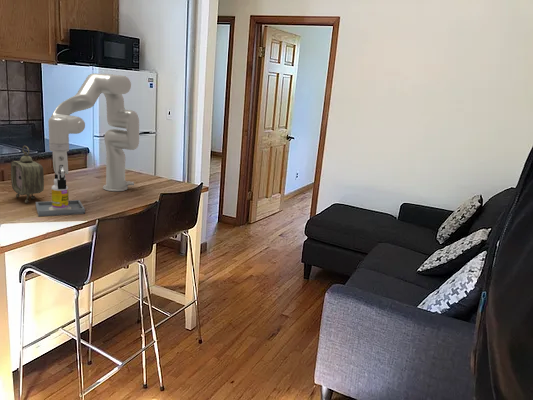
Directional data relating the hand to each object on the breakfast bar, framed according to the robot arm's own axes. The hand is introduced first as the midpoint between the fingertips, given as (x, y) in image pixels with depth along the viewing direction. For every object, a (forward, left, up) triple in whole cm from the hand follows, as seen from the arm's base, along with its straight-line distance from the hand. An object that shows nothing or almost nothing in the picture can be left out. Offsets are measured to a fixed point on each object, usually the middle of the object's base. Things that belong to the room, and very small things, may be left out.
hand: (60, 185), depth 191 cm
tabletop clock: (+11, -19, -11) cm, 25 cm away
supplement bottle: (0, 0, -10) cm, 10 cm away
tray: (0, 0, -11) cm, 11 cm away
